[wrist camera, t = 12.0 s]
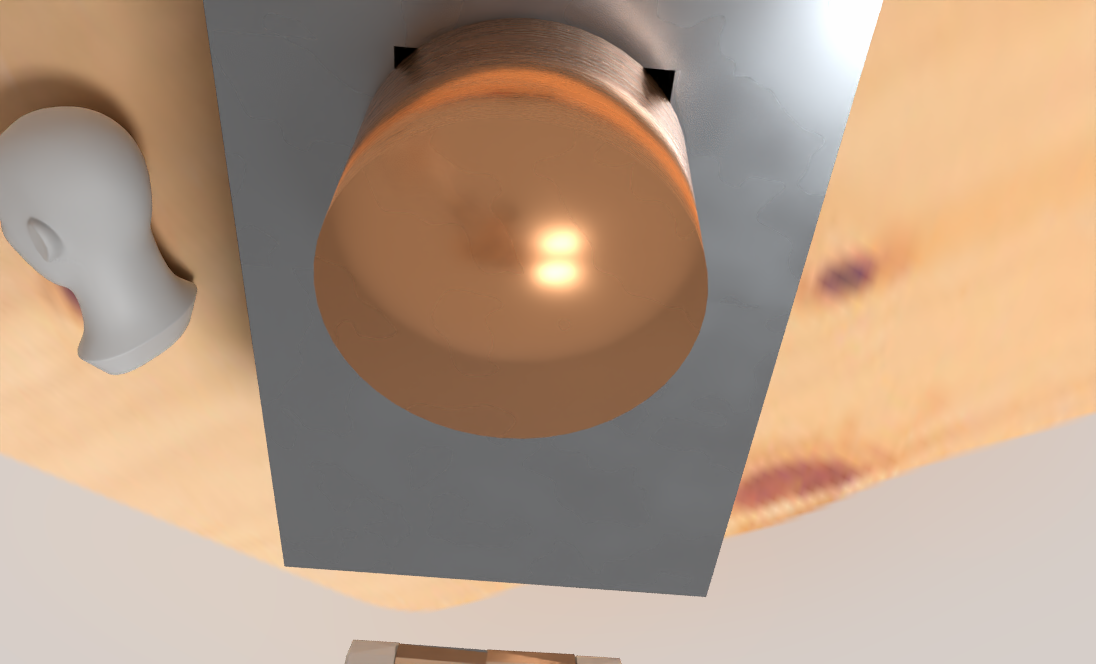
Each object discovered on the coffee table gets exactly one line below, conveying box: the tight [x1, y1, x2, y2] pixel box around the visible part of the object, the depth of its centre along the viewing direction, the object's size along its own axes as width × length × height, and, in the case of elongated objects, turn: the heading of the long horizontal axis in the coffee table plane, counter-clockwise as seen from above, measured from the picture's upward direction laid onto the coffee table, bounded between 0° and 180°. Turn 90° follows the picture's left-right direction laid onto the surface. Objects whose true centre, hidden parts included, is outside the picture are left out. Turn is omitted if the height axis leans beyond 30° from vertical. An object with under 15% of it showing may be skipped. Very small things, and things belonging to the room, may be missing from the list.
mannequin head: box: [0, 106, 197, 375], centre depth 28 cm, size 4×8×5 cm
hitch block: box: [203, 0, 883, 597], centre depth 25 cm, size 12×18×8 cm, turn 176°
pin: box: [314, 18, 708, 439], centre depth 21 cm, size 7×7×11 cm
